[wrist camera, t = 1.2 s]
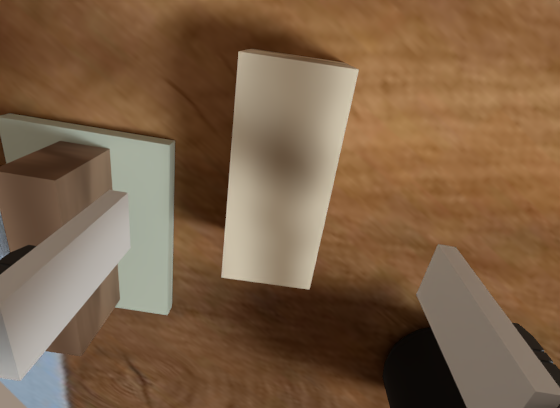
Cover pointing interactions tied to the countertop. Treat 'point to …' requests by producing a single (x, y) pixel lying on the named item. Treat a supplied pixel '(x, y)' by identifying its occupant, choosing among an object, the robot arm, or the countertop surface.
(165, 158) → the board
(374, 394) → the countertop surface
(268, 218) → the lintel
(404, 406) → the coffee jar
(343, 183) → the countertop surface
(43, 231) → the post
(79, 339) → the post
